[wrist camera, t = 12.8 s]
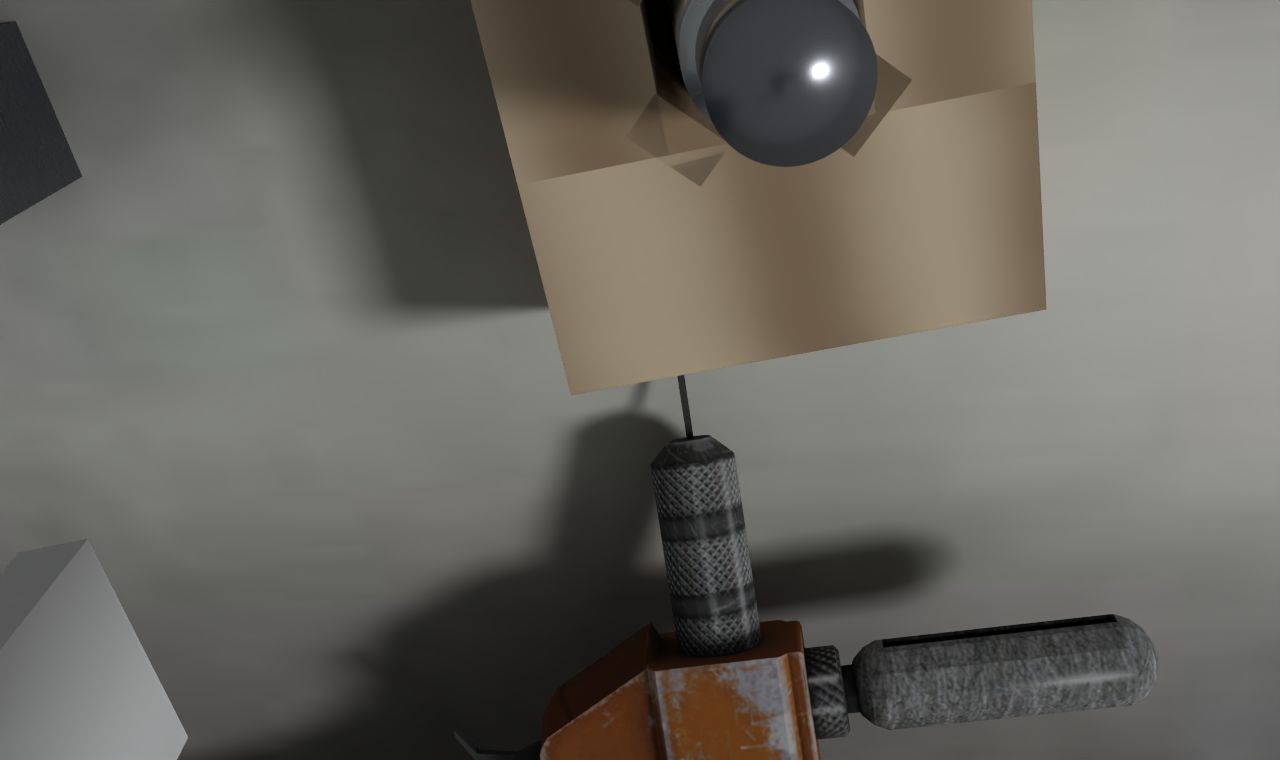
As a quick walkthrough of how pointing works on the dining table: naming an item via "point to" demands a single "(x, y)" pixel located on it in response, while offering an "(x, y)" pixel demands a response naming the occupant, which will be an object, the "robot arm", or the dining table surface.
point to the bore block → (767, 191)
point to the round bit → (777, 73)
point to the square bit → (28, 132)
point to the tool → (801, 656)
